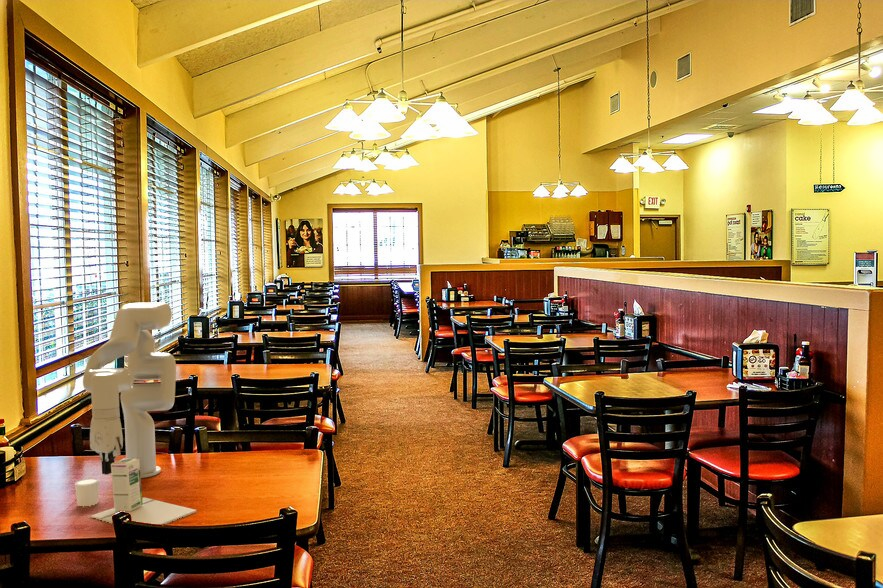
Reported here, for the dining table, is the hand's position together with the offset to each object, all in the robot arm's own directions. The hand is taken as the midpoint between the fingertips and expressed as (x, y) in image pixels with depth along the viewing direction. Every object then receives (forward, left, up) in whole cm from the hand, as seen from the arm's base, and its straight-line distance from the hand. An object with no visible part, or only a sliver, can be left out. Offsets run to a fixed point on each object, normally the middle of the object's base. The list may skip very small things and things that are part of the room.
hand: (108, 473), depth 218 cm
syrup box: (+9, 0, -10) cm, 13 cm away
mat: (+16, 0, -10) cm, 19 cm away
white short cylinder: (-8, -2, -11) cm, 13 cm away
